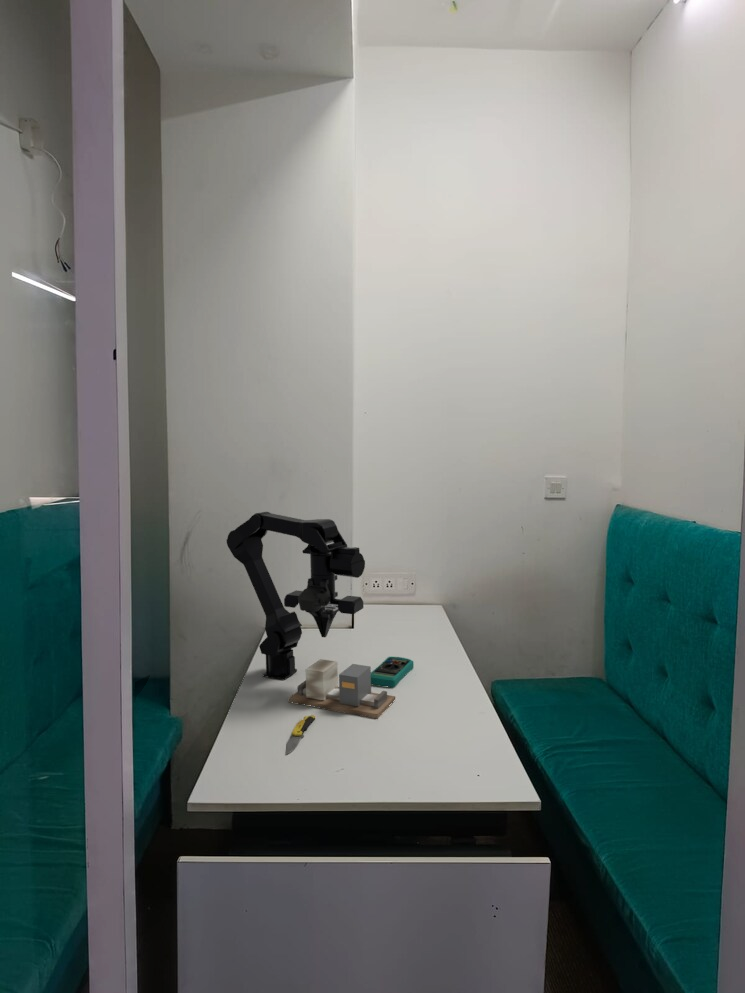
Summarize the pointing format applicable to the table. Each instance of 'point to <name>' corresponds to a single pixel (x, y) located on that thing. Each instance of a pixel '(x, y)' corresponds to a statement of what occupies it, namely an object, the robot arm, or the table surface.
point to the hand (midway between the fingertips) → (324, 636)
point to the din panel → (335, 692)
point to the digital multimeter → (391, 671)
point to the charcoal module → (354, 684)
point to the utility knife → (299, 732)
